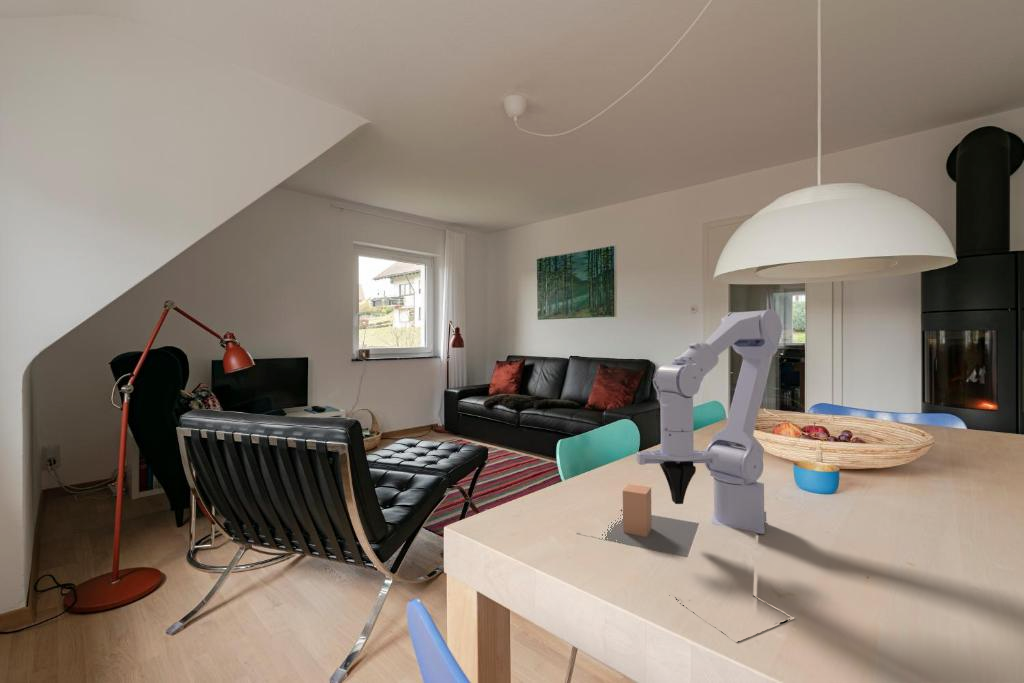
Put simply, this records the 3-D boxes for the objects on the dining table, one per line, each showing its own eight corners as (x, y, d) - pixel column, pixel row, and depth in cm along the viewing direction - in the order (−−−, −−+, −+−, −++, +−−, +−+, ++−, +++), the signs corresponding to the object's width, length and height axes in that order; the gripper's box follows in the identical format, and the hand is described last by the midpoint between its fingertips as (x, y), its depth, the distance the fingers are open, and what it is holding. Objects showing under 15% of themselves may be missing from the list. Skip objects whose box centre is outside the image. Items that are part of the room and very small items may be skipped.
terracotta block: (651, 528, 88) (651, 487, 88) (646, 536, 84) (645, 494, 84) (629, 523, 90) (628, 484, 90) (623, 532, 87) (622, 490, 87)
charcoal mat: (698, 526, 90) (698, 523, 90) (686, 560, 76) (686, 557, 76) (602, 509, 100) (602, 506, 100) (575, 536, 86) (575, 533, 86)
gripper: (706, 424, 88) (707, 494, 88) (632, 425, 88) (632, 495, 88) (723, 432, 81) (724, 507, 81) (642, 432, 81) (643, 508, 81)
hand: (677, 502), depth 84 cm, fingers closed
